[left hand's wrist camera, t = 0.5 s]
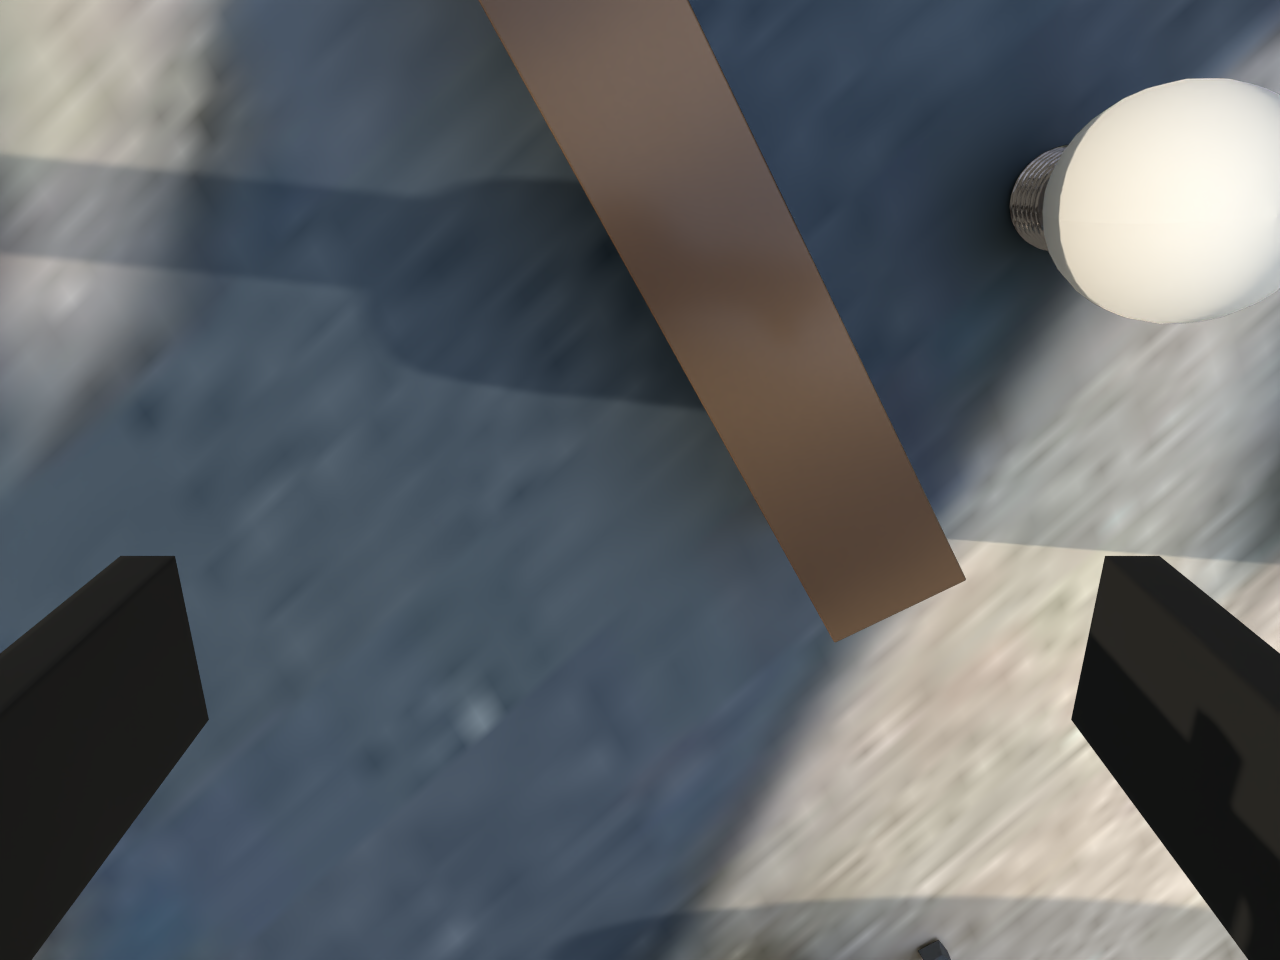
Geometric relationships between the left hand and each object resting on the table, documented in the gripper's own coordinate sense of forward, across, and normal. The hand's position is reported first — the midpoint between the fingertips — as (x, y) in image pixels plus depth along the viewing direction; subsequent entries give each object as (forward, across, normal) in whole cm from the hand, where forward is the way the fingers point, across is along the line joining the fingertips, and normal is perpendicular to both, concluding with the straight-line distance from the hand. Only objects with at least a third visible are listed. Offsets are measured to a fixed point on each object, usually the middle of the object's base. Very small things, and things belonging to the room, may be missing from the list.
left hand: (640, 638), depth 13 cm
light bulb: (+23, -16, -5) cm, 28 cm away
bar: (+23, -2, -4) cm, 23 cm away
